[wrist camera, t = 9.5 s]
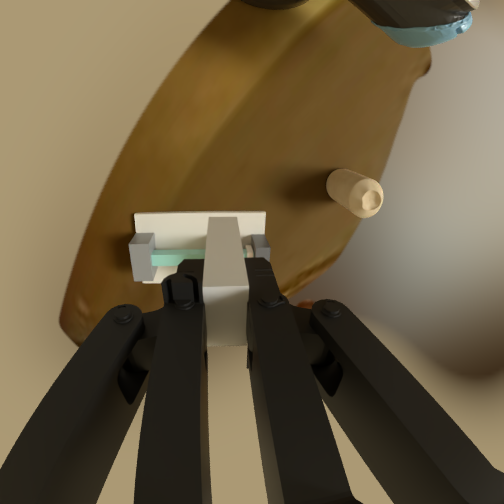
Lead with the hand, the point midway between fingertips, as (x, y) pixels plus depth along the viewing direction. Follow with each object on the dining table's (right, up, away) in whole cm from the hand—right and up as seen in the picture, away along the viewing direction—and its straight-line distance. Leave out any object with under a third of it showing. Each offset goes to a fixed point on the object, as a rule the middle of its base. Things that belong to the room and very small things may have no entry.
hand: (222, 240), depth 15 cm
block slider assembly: (-7, 0, +29) cm, 30 cm away
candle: (+16, +10, +28) cm, 34 cm away
